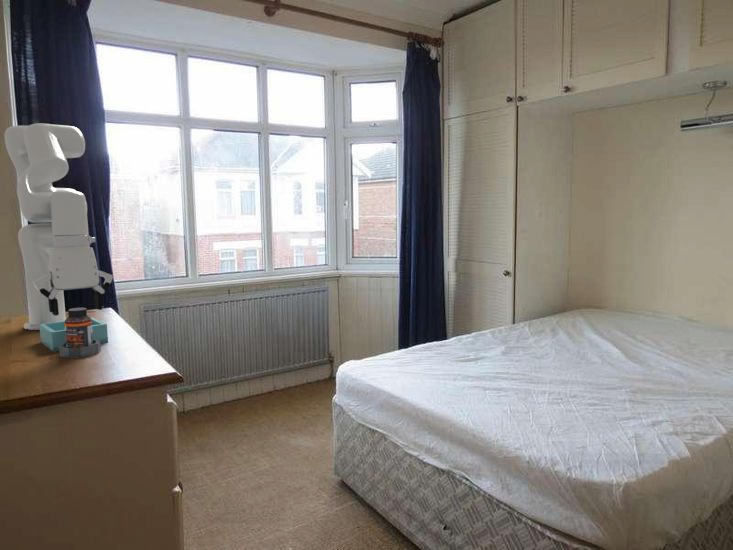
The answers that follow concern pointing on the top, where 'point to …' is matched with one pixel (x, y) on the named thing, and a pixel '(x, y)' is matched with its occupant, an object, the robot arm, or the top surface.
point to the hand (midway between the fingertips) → (77, 311)
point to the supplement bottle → (78, 328)
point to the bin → (55, 333)
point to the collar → (79, 350)
